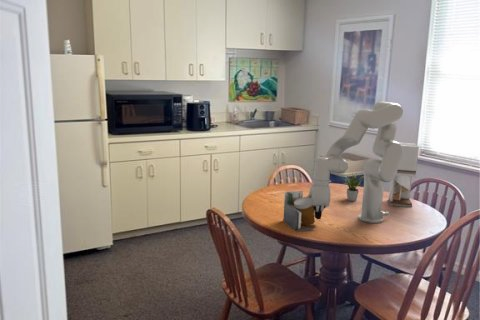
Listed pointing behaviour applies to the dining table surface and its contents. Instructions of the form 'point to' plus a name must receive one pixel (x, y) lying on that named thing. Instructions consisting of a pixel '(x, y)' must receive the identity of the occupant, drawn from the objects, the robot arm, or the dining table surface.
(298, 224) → the pale grey flat panel
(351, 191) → the house plant
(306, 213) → the disposable coffee cup
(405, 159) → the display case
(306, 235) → the dining table surface
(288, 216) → the gauge frame
